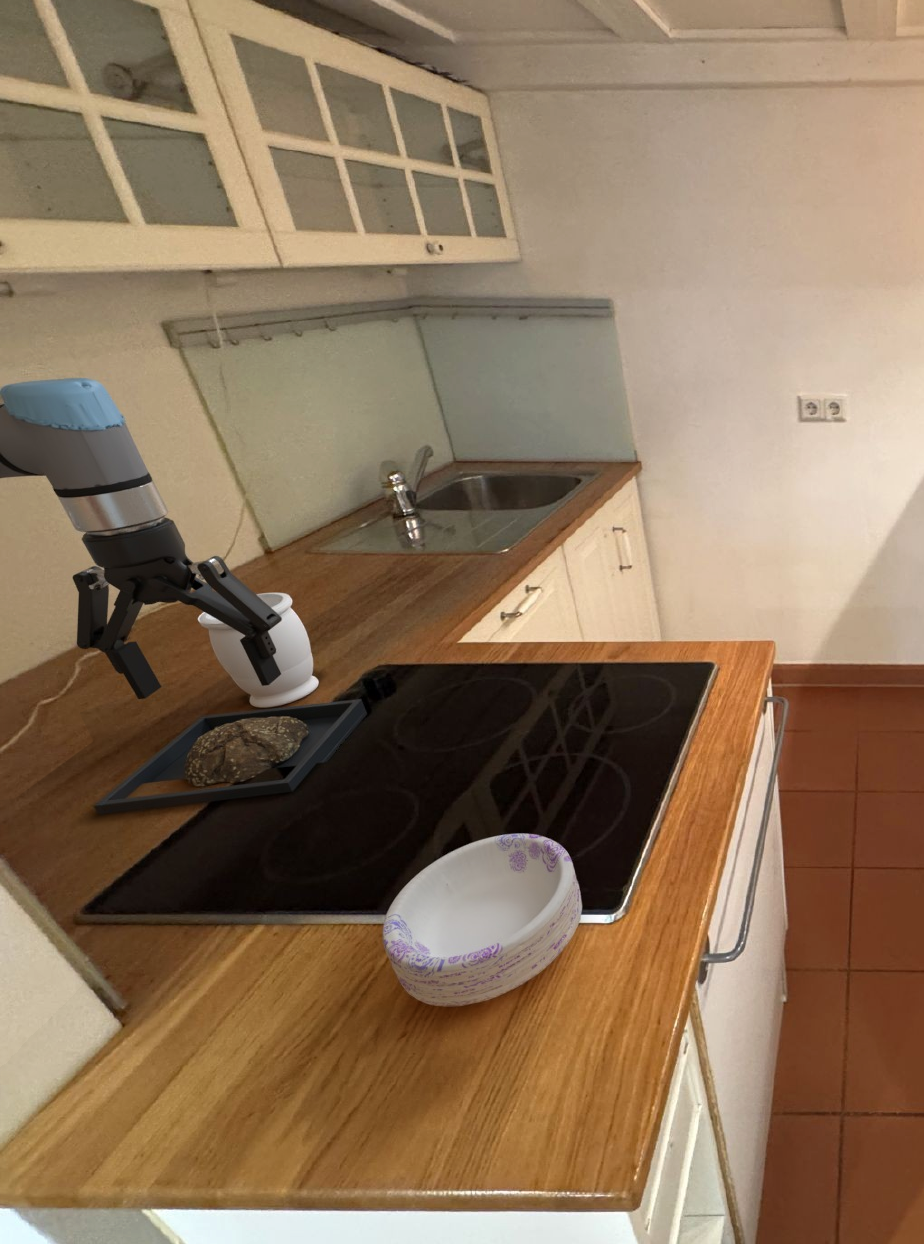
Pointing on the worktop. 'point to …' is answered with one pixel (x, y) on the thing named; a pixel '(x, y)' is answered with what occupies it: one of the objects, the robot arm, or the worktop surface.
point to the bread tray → (324, 738)
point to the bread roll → (243, 749)
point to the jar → (288, 657)
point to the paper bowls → (483, 919)
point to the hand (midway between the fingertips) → (211, 686)
